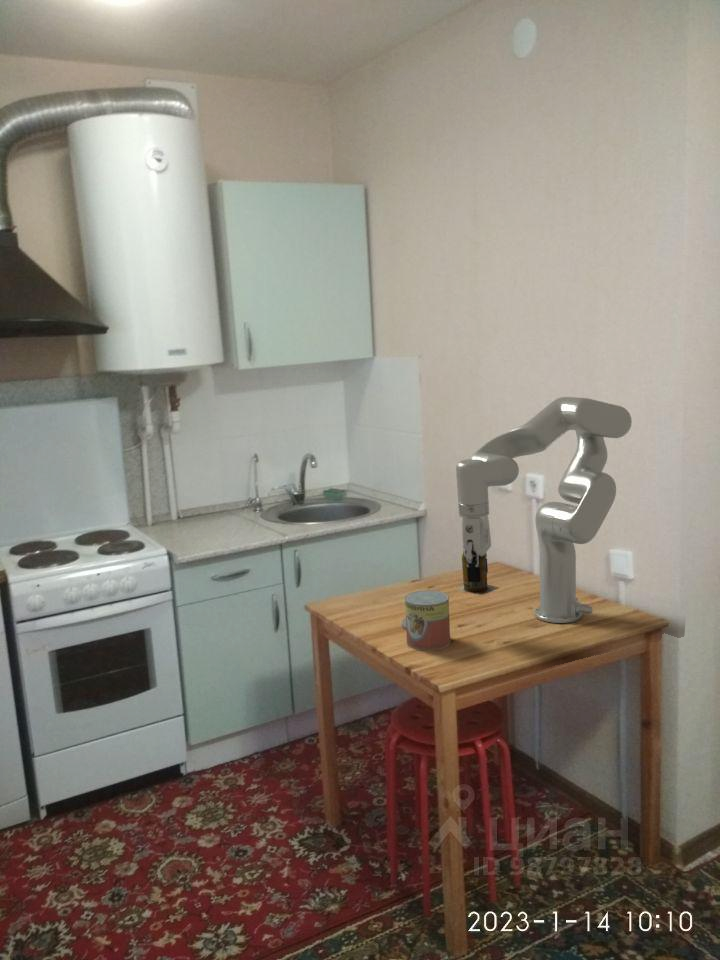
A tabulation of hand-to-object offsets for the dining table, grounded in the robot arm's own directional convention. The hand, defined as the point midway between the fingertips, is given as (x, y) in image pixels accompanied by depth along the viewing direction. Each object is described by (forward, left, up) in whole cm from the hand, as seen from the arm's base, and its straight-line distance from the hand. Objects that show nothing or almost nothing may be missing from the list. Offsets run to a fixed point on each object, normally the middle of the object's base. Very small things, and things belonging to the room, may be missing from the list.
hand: (478, 576), depth 201 cm
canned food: (+12, +7, -16) cm, 21 cm away
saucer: (+18, -4, -16) cm, 24 cm away
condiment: (0, 0, -3) cm, 3 cm away
